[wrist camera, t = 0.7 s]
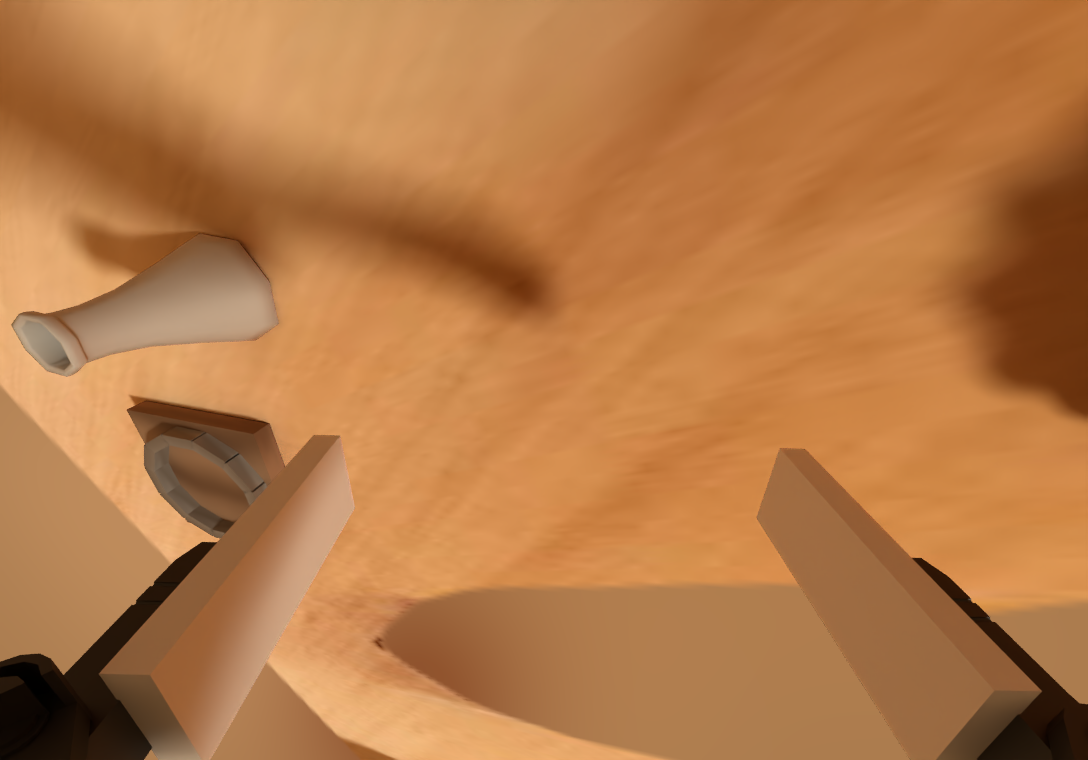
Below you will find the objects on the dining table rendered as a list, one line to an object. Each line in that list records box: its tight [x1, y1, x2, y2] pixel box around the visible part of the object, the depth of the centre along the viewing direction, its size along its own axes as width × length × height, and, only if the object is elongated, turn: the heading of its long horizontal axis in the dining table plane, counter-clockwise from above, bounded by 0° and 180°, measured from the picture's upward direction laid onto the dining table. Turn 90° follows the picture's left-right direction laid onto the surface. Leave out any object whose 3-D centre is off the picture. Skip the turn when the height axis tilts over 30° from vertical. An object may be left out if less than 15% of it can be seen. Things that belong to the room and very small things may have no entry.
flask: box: [12, 234, 279, 377], centre depth 24 cm, size 7×7×10 cm
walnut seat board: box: [127, 401, 285, 538], centre depth 37 cm, size 13×13×3 cm
